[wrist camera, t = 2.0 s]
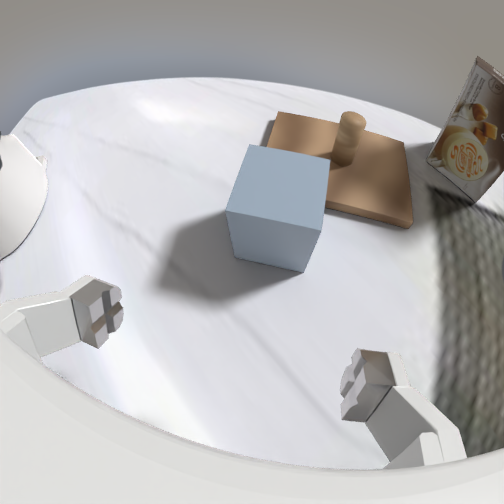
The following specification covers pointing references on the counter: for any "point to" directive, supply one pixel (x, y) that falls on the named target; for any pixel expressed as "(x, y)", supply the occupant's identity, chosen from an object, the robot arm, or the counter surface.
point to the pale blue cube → (277, 207)
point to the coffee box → (473, 133)
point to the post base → (352, 164)
